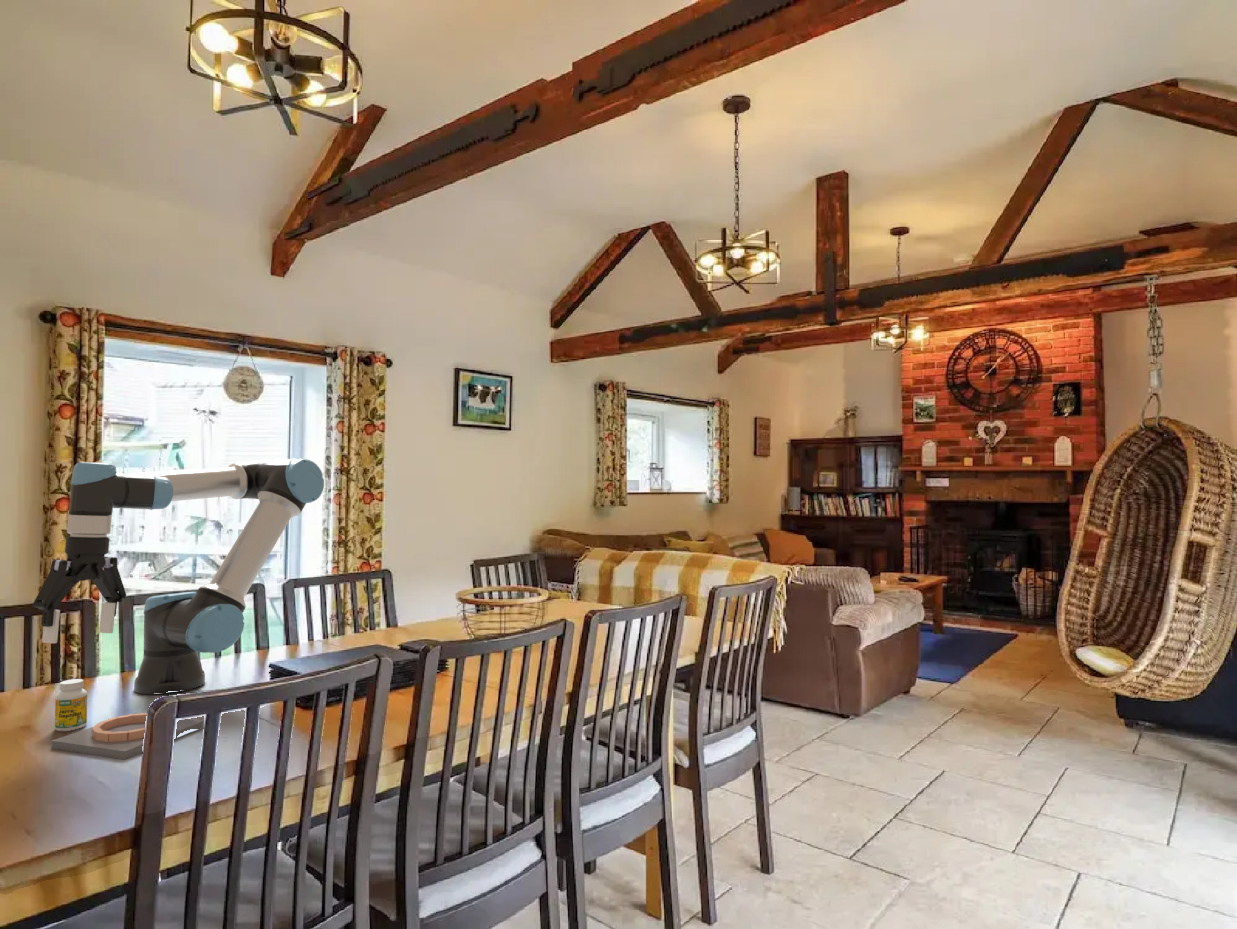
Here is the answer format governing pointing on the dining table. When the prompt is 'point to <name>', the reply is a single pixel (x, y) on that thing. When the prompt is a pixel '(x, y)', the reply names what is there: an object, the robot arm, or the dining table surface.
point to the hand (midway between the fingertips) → (78, 637)
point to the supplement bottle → (71, 706)
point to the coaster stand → (115, 736)
